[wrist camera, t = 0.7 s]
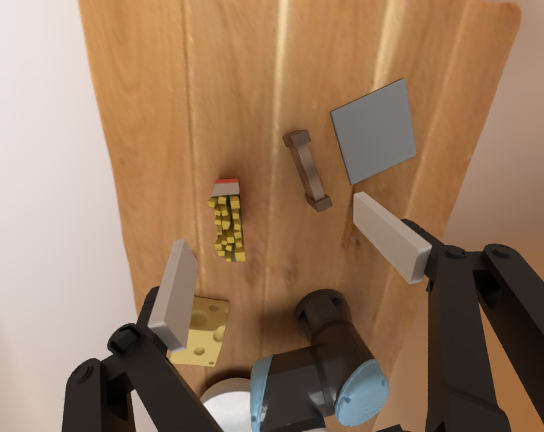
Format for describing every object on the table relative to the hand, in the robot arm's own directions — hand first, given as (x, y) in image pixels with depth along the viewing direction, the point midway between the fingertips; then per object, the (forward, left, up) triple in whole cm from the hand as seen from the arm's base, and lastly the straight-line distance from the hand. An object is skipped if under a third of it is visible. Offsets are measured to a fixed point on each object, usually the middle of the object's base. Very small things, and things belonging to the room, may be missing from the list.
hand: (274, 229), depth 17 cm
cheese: (-27, +26, -30) cm, 48 cm away
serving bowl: (-57, +33, -30) cm, 72 cm away
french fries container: (-4, +7, -30) cm, 31 cm away
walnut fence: (-4, -10, -30) cm, 32 cm away
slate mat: (-4, -27, -30) cm, 41 cm away
